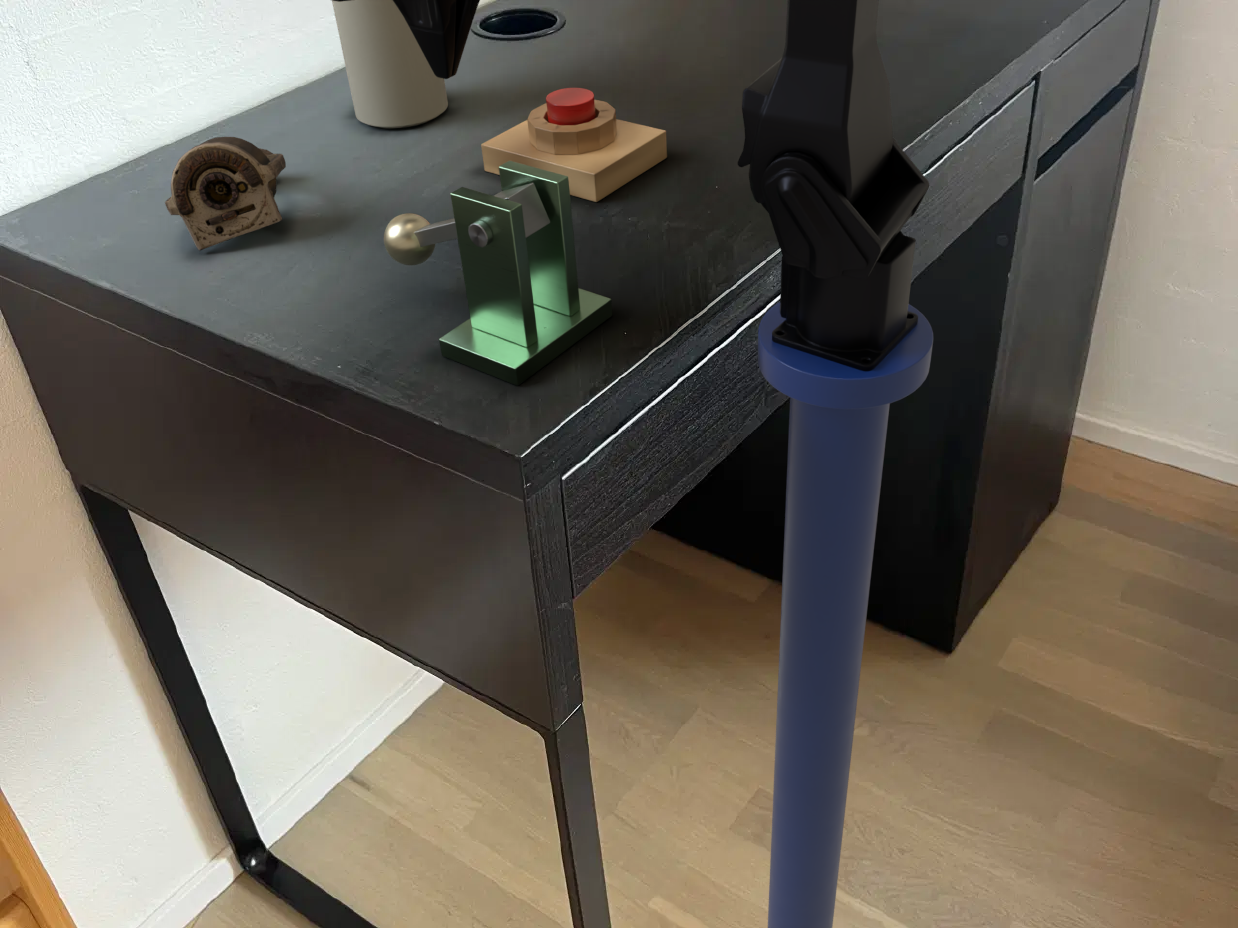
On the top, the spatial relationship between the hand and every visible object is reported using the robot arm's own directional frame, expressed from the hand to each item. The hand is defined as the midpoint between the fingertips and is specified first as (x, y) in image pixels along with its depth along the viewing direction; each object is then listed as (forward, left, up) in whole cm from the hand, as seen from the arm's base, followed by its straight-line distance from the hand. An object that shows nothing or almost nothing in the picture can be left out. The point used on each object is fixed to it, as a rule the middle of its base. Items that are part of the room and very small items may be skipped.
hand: (445, 76), depth 71 cm
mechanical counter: (+18, +4, -12) cm, 23 cm away
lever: (-6, +6, -7) cm, 12 cm away
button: (+2, -15, -8) cm, 17 cm away
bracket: (-11, +6, -12) cm, 17 cm away
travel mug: (+22, -16, -12) cm, 30 cm away
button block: (+2, -15, -12) cm, 19 cm away
